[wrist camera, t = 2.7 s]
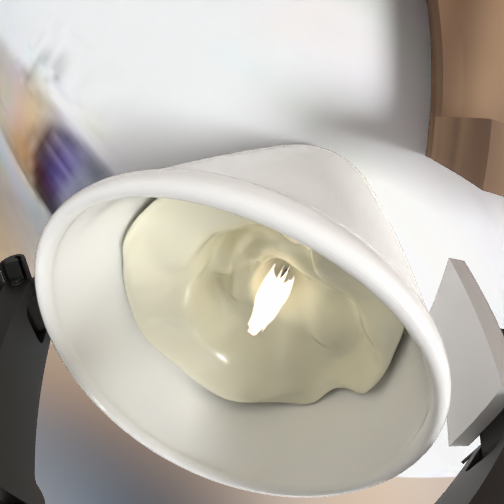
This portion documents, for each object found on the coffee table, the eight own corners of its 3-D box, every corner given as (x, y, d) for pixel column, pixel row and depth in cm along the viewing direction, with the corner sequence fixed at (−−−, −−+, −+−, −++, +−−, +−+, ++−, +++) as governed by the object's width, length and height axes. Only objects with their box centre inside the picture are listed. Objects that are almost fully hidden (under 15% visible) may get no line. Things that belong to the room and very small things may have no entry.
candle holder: (426, 239, 13) (495, 453, 3) (294, 322, 19) (223, 496, 8) (305, 89, 12) (138, 12, 2) (187, 210, 18) (23, 327, 7)
